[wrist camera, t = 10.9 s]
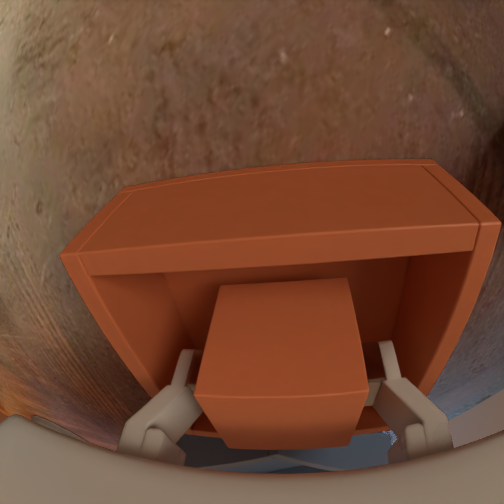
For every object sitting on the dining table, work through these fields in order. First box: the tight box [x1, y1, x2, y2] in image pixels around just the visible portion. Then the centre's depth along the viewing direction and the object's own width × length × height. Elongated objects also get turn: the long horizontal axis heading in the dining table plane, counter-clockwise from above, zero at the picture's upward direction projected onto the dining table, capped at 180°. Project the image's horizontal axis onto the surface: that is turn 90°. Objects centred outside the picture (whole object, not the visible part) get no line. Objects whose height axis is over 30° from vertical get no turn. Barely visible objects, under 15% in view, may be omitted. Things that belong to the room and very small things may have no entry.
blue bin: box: [176, 432, 392, 474], centre depth 24 cm, size 24×16×5 cm, turn 138°
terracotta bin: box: [59, 159, 501, 438], centre depth 11 cm, size 12×12×5 cm
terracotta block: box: [193, 277, 369, 450], centre depth 10 cm, size 4×4×4 cm
